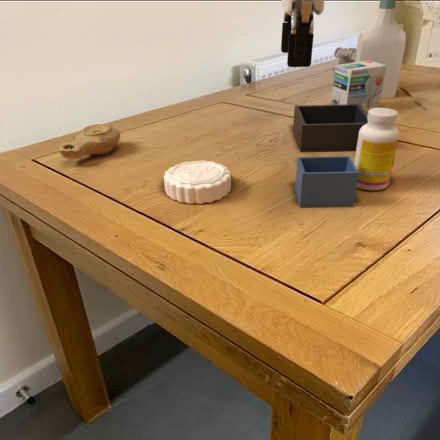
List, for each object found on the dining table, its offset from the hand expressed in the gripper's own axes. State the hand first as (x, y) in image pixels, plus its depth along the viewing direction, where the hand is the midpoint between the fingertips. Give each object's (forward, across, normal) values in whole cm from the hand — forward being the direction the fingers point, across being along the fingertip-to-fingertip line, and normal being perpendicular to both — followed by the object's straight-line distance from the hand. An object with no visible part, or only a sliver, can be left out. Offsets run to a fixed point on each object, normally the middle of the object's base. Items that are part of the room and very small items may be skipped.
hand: (294, 58), depth 68 cm
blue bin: (+22, 0, -7) cm, 23 cm away
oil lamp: (+22, +21, +38) cm, 49 cm away
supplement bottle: (+22, +5, -16) cm, 28 cm away
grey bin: (+22, +28, -12) cm, 37 cm away
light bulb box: (+22, +49, -22) cm, 58 cm away
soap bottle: (+22, +62, -30) cm, 72 cm away
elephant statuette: (+22, +87, -28) cm, 94 cm away
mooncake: (+22, +4, +15) cm, 27 cm away
